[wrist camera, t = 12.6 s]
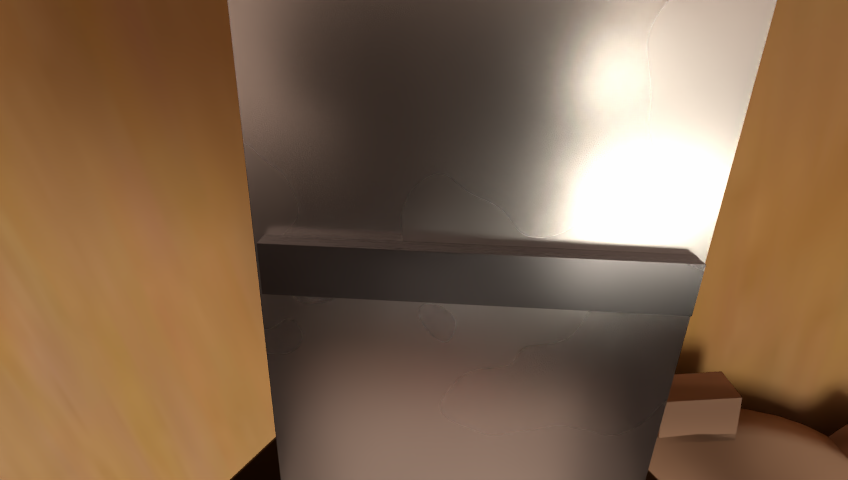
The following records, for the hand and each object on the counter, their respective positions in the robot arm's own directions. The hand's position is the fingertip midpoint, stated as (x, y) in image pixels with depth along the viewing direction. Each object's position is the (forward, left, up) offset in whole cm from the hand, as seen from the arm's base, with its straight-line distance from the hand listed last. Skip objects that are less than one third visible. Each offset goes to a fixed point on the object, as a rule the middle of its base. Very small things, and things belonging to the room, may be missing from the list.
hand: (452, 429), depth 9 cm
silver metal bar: (0, 0, -1) cm, 1 cm away
